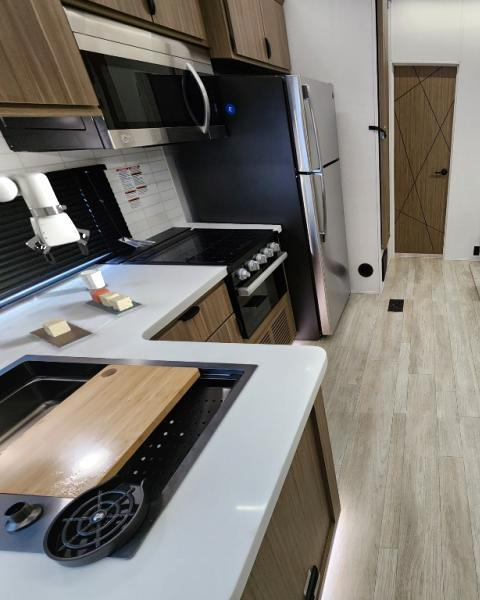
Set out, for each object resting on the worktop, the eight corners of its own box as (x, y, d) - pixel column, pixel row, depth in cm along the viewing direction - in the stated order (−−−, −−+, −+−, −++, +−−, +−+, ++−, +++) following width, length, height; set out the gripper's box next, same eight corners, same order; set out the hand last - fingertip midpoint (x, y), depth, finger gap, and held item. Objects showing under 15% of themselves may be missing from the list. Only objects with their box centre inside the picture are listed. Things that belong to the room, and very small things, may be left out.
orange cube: (100, 303, 127) (95, 294, 126) (93, 301, 129) (89, 292, 127) (113, 298, 131) (108, 289, 129) (106, 296, 133) (102, 287, 131)
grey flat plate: (143, 305, 127) (142, 304, 127) (117, 316, 120) (116, 315, 120) (110, 294, 135) (110, 293, 135) (84, 304, 128) (84, 302, 128)
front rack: (93, 334, 110) (93, 333, 109) (60, 349, 102) (59, 347, 102) (63, 321, 117) (62, 319, 117) (29, 334, 110) (29, 332, 110)
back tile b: (109, 307, 125) (105, 298, 123) (103, 304, 126) (98, 295, 125) (122, 302, 128) (118, 293, 126) (116, 299, 130) (112, 290, 128)
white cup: (105, 282, 146) (98, 267, 143) (107, 286, 142) (100, 271, 139) (85, 286, 142) (77, 272, 139) (87, 291, 138) (79, 276, 134)
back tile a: (120, 311, 122) (115, 301, 120) (113, 308, 124) (109, 299, 122) (133, 305, 126) (129, 296, 124) (126, 303, 127) (122, 294, 125)
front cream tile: (54, 337, 107) (47, 326, 105) (47, 334, 109) (41, 323, 107) (71, 330, 111) (65, 320, 109) (64, 327, 113) (58, 317, 111)
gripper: (72, 205, 121) (92, 250, 129) (6, 215, 107) (33, 264, 115) (83, 207, 118) (103, 253, 126) (17, 218, 104) (44, 268, 112)
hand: (70, 258), depth 120 cm, fingers open, 9 cm apart
